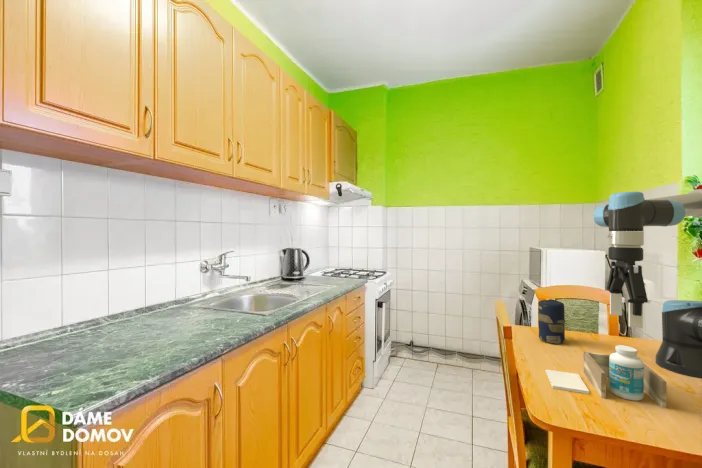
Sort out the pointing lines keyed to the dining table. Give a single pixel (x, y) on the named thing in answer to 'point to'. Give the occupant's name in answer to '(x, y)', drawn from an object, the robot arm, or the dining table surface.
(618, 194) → the robot arm
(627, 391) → the pill bottle
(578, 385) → the tile
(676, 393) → the dining table surface
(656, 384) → the beige three-walled frame
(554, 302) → the canister
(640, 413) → the dining table surface
